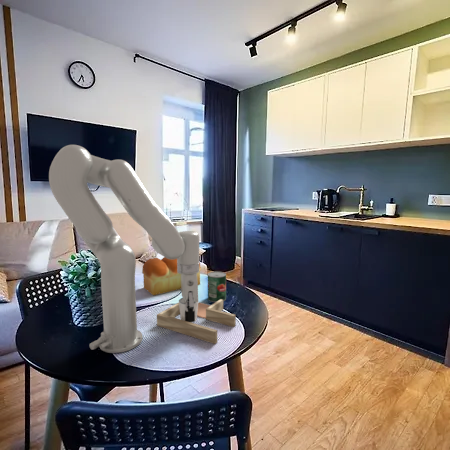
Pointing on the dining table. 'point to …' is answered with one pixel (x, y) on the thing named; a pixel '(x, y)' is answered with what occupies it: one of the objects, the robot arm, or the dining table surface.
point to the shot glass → (183, 309)
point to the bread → (162, 275)
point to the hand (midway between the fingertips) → (188, 317)
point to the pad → (202, 310)
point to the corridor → (195, 330)
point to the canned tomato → (216, 286)
